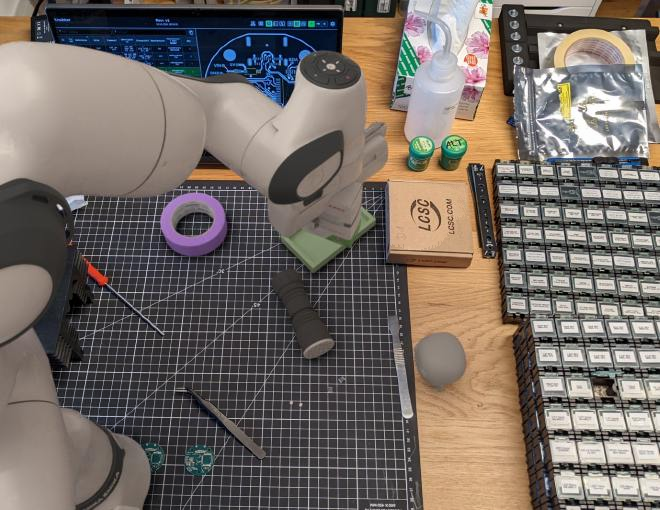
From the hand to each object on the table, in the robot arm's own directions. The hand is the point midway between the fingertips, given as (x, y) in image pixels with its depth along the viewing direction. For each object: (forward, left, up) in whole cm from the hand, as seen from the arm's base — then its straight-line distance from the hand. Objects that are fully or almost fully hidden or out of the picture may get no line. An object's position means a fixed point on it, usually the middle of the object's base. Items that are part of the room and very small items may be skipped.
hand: (330, 212), depth 95 cm
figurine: (-1, -26, -20) cm, 33 cm away
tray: (+5, +6, -20) cm, 21 cm away
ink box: (0, 0, -5) cm, 5 cm away
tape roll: (-13, +23, -20) cm, 33 cm away
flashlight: (-10, -4, -20) cm, 22 cm away
